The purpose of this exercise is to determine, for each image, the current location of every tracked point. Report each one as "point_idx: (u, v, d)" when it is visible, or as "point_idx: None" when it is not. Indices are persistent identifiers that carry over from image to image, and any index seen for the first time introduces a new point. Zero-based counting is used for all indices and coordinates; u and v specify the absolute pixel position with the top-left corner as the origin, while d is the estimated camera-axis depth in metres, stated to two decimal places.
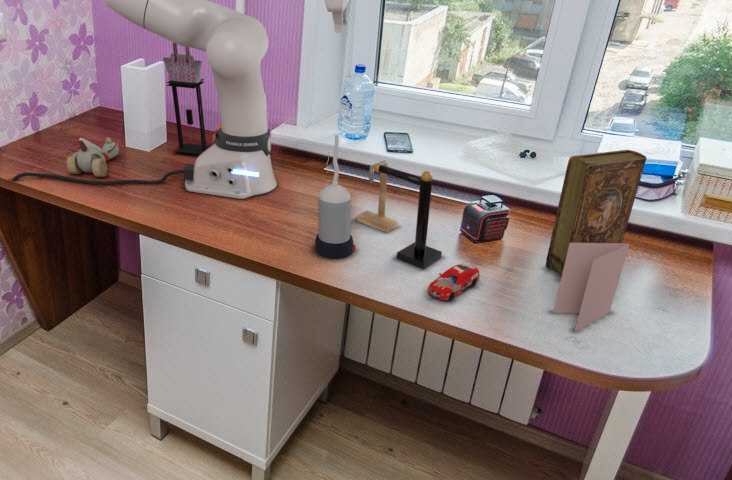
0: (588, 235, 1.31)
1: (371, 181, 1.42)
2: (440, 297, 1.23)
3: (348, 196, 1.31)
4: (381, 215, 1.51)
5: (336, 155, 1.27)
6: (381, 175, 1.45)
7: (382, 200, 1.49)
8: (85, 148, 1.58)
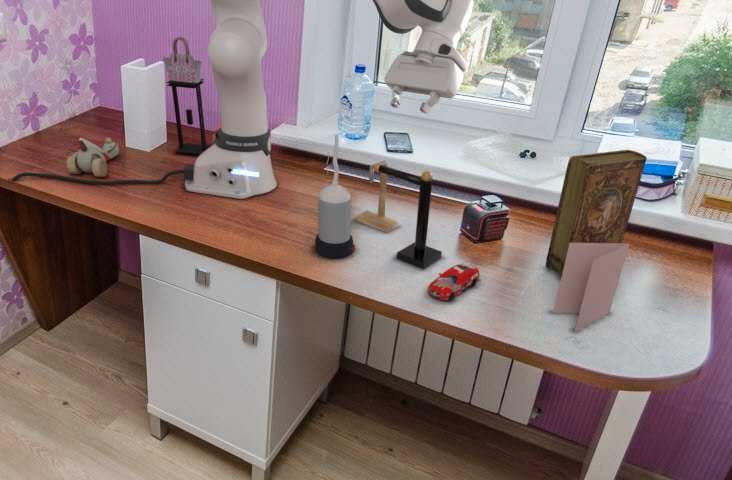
0: (588, 235, 1.31)
1: (371, 181, 1.42)
2: (440, 297, 1.23)
3: (348, 196, 1.31)
4: (381, 215, 1.51)
5: (336, 155, 1.27)
6: (381, 175, 1.45)
7: (382, 200, 1.49)
8: (85, 148, 1.58)
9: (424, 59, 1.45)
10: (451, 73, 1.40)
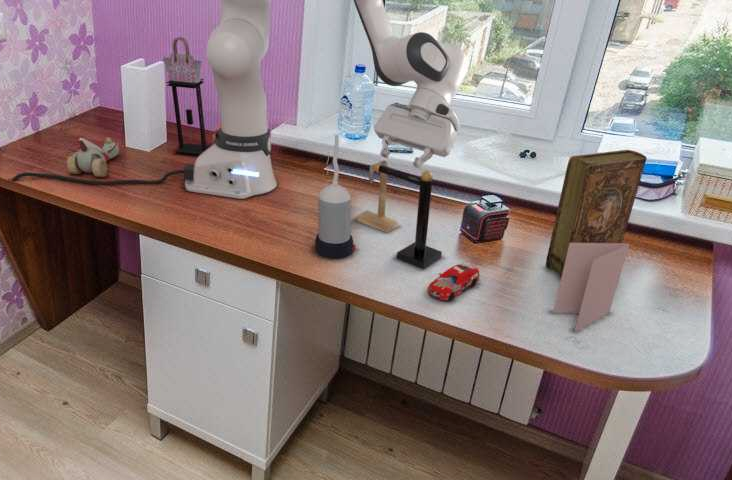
0: (588, 235, 1.31)
1: (371, 181, 1.42)
2: (440, 297, 1.23)
3: (348, 196, 1.31)
4: (381, 215, 1.51)
5: (336, 155, 1.27)
6: (381, 175, 1.45)
7: (382, 200, 1.49)
8: (85, 148, 1.58)
9: (420, 115, 1.47)
10: (448, 134, 1.44)
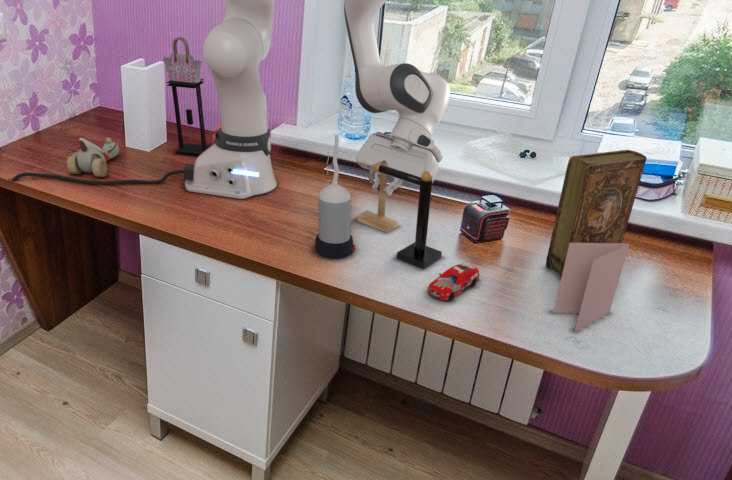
0: (588, 235, 1.31)
1: (371, 181, 1.42)
2: (440, 297, 1.23)
3: (348, 196, 1.31)
4: (381, 215, 1.51)
5: (336, 155, 1.27)
6: (381, 175, 1.45)
7: (382, 200, 1.49)
8: (85, 148, 1.58)
9: (401, 146, 1.46)
10: (430, 165, 1.43)
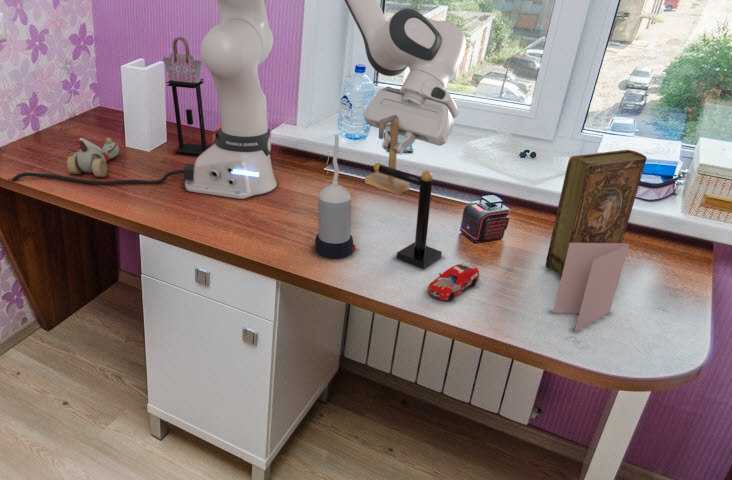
0: (588, 235, 1.31)
1: (381, 137, 1.30)
2: (440, 297, 1.23)
3: (348, 196, 1.31)
4: (391, 176, 1.39)
5: (336, 155, 1.27)
6: (392, 131, 1.33)
7: (393, 160, 1.37)
8: (85, 148, 1.58)
9: (414, 100, 1.34)
10: (445, 120, 1.31)
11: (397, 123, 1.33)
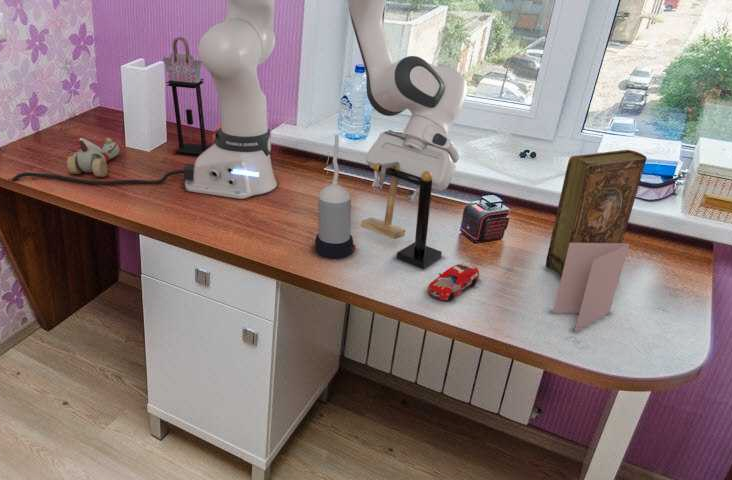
0: (588, 235, 1.31)
1: (382, 181, 1.32)
2: (440, 297, 1.23)
3: (348, 196, 1.31)
4: (388, 222, 1.39)
5: (336, 155, 1.27)
6: (392, 177, 1.35)
7: (391, 206, 1.37)
8: (85, 148, 1.58)
9: (415, 145, 1.35)
10: (446, 166, 1.32)
11: None
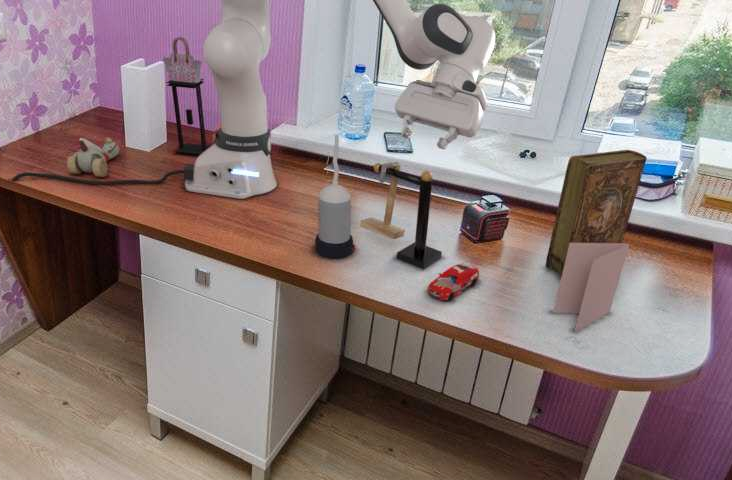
0: (588, 235, 1.31)
1: (382, 181, 1.32)
2: (440, 297, 1.23)
3: (348, 196, 1.31)
4: (387, 222, 1.39)
5: (336, 155, 1.27)
6: (392, 177, 1.35)
7: (390, 206, 1.37)
8: (85, 148, 1.58)
9: (445, 92, 1.37)
10: (476, 112, 1.34)
11: None
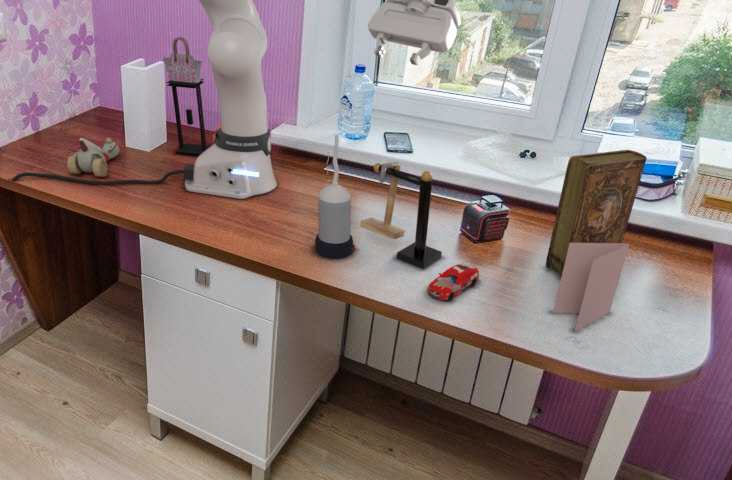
0: (588, 235, 1.31)
1: (382, 181, 1.32)
2: (440, 297, 1.23)
3: (348, 196, 1.31)
4: (387, 222, 1.39)
5: (336, 155, 1.27)
6: (392, 177, 1.35)
7: (390, 206, 1.37)
8: (85, 148, 1.58)
9: (417, 8, 1.36)
10: (448, 25, 1.33)
11: None
